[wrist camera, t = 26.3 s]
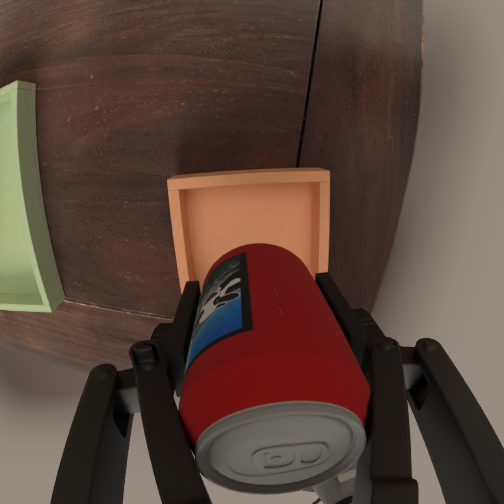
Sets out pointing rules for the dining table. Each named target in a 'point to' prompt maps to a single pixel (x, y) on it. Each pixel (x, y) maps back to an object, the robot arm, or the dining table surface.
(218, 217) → the drink tray
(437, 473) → the robot arm
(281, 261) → the beverage can
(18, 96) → the fruit tray
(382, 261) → the dining table surface
